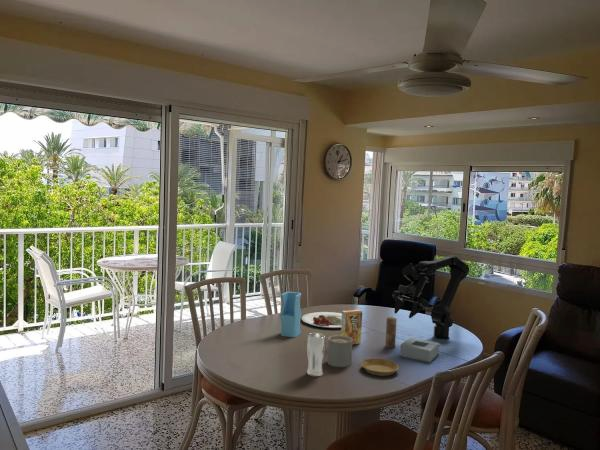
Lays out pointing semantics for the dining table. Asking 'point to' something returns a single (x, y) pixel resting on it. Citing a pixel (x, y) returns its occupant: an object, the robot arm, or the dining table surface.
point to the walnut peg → (390, 332)
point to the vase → (291, 314)
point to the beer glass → (315, 353)
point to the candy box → (352, 325)
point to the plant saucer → (379, 367)
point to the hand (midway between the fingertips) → (402, 315)
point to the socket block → (419, 349)
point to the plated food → (323, 319)
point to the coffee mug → (339, 351)
